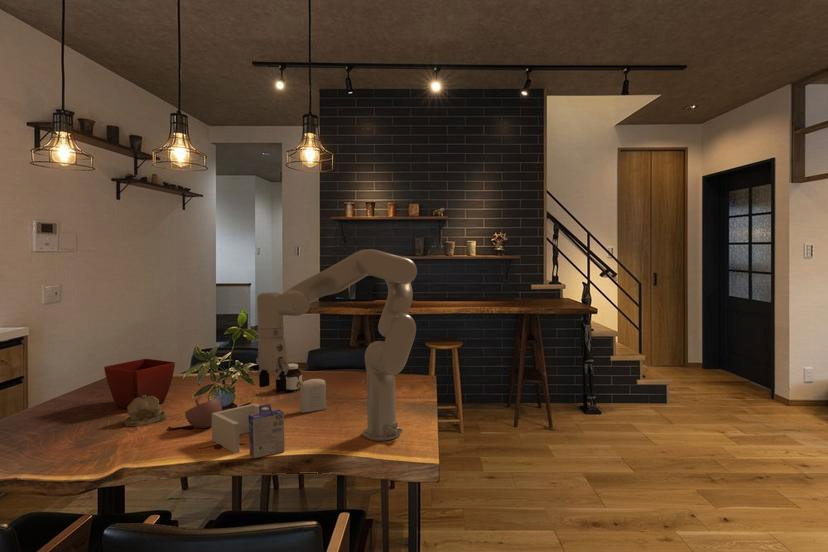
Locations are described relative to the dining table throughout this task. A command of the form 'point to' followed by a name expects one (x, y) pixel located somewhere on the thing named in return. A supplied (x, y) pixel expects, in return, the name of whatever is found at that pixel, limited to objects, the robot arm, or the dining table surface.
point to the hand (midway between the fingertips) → (272, 389)
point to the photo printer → (312, 395)
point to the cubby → (232, 425)
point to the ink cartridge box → (266, 432)
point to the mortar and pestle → (203, 412)
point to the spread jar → (293, 378)
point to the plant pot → (139, 380)
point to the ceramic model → (144, 411)
